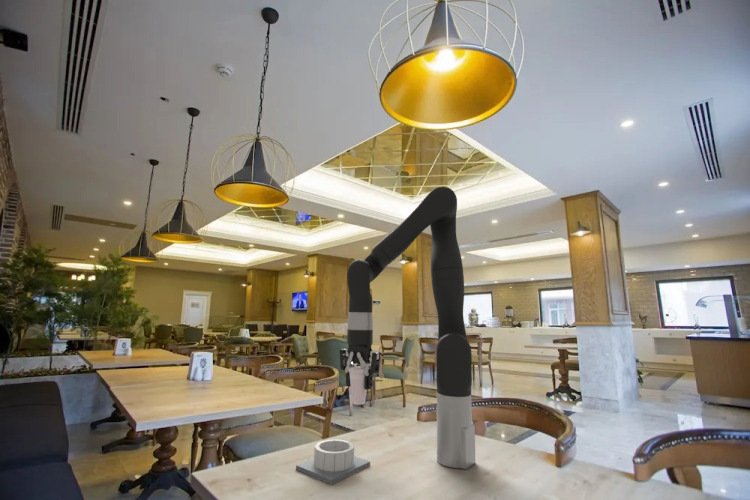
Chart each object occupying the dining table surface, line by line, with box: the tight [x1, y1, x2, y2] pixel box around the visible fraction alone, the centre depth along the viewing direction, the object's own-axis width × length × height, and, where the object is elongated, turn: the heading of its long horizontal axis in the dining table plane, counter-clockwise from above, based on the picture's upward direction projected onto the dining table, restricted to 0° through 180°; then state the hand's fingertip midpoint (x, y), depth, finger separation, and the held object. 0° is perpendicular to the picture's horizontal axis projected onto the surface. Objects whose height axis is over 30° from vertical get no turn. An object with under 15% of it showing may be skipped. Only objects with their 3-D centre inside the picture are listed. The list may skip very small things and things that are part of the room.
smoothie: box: [348, 364, 369, 406], centre depth 106 cm, size 6×6×14 cm
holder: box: [295, 439, 371, 485], centre depth 92 cm, size 12×14×5 cm
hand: (358, 387), depth 106 cm, fingers closed on smoothie, 6 cm apart
